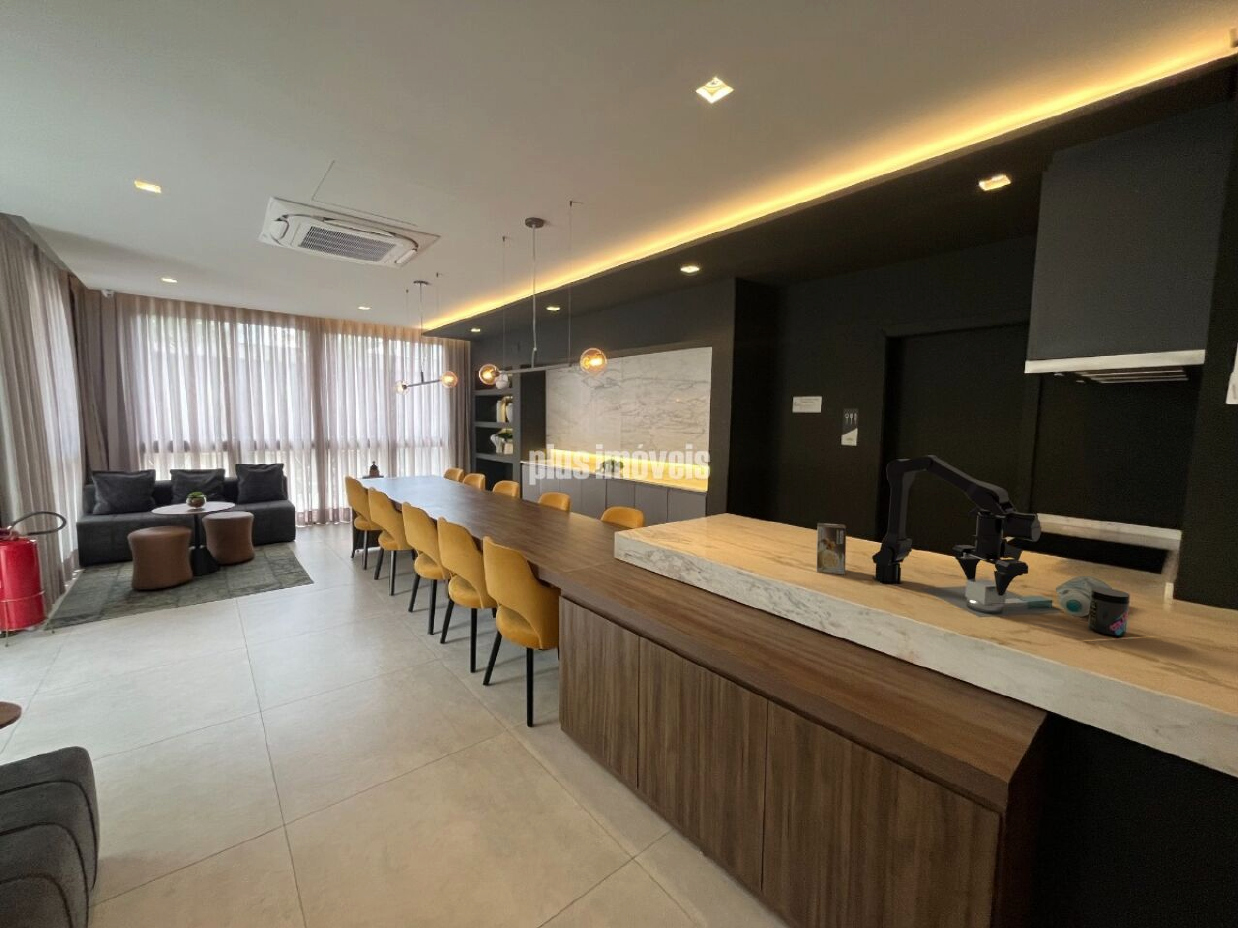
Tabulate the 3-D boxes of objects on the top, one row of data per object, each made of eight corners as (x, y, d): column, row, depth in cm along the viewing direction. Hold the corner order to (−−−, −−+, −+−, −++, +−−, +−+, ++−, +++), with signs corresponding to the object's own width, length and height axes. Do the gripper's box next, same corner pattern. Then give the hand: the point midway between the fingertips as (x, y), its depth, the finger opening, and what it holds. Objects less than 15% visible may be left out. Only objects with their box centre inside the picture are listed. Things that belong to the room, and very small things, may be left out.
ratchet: (983, 615, 130) (984, 592, 130) (959, 603, 138) (960, 582, 138) (1060, 610, 133) (1062, 588, 132) (1032, 599, 141) (1033, 579, 140)
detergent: (1062, 592, 148) (1035, 609, 133) (1067, 569, 147) (1040, 584, 132) (1123, 609, 137) (1101, 630, 123) (1128, 585, 136) (1107, 603, 122)
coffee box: (844, 569, 171) (846, 524, 169) (845, 574, 165) (847, 528, 163) (816, 566, 174) (817, 522, 173) (815, 571, 168) (817, 526, 167)
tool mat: (979, 618, 129) (979, 616, 129) (919, 589, 151) (919, 588, 151) (1064, 613, 132) (1064, 612, 132) (993, 585, 154) (993, 584, 154)
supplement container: (1104, 638, 117) (1108, 596, 116) (1079, 626, 123) (1083, 586, 122) (1134, 639, 116) (1138, 597, 115) (1108, 627, 123) (1112, 587, 122)
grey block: (984, 604, 131) (985, 586, 131) (965, 596, 137) (966, 579, 137) (1005, 603, 132) (1006, 585, 131) (985, 595, 138) (986, 578, 137)
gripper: (1049, 541, 124) (1045, 600, 126) (986, 525, 143) (983, 577, 144) (1010, 542, 123) (1006, 602, 124) (951, 526, 141) (948, 578, 143)
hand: (985, 589), depth 134 cm, fingers open, 9 cm apart
